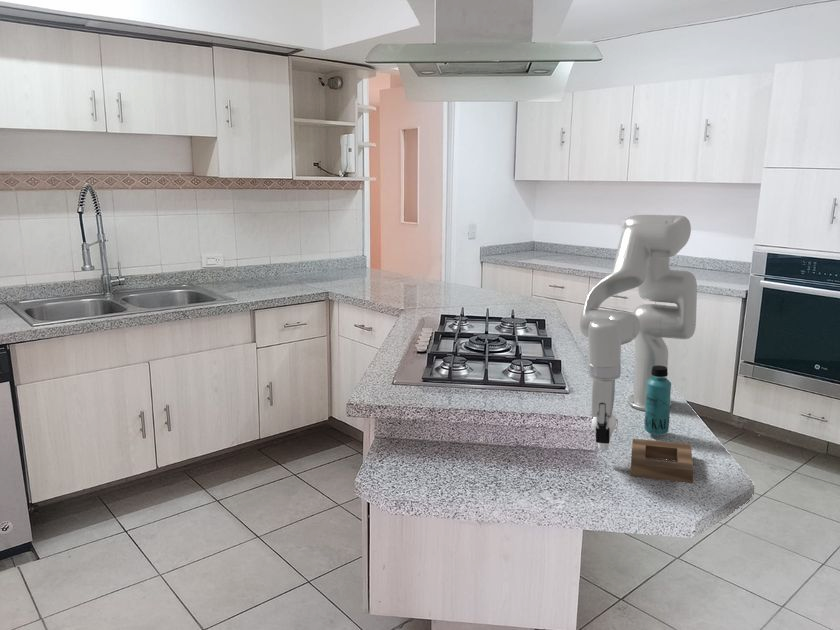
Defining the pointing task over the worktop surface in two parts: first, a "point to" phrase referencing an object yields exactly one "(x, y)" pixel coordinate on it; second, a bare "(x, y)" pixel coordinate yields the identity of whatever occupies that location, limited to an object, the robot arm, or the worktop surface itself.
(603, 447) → the lightbulb
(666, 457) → the socket block
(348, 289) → the worktop surface
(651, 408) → the beverage bottle
